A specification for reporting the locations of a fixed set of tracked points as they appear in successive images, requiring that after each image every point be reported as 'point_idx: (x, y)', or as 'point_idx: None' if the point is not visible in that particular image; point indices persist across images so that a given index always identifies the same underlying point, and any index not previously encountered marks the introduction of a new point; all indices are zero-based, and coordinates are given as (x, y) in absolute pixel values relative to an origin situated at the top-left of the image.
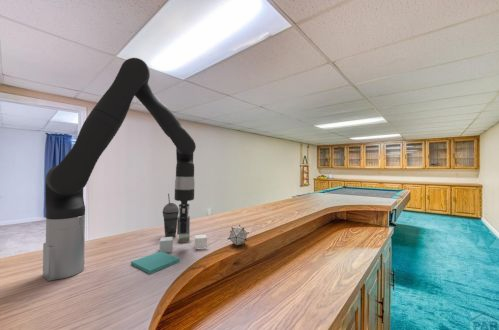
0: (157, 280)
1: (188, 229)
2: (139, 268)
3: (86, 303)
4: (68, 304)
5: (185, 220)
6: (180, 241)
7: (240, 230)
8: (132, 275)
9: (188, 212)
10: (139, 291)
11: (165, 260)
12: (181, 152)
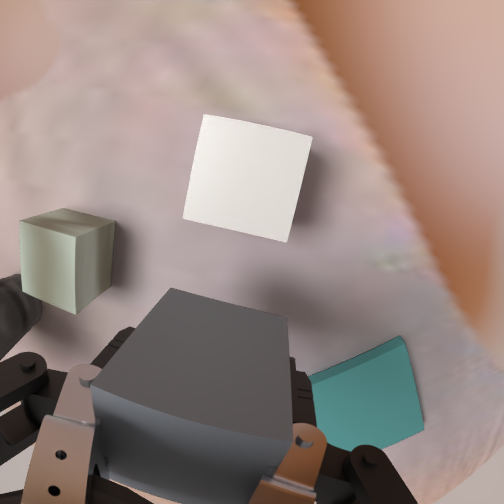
0: (469, 399)
1: (286, 349)
2: None
3: (439, 480)
4: (419, 495)
5: (377, 477)
6: (107, 278)
7: None
8: (392, 453)
9: (89, 459)
10: (478, 424)
11: (382, 395)
12: None
